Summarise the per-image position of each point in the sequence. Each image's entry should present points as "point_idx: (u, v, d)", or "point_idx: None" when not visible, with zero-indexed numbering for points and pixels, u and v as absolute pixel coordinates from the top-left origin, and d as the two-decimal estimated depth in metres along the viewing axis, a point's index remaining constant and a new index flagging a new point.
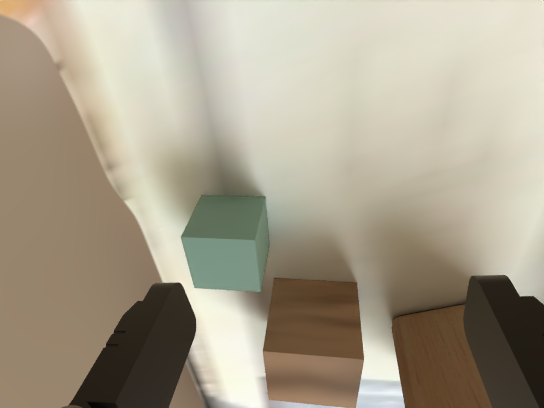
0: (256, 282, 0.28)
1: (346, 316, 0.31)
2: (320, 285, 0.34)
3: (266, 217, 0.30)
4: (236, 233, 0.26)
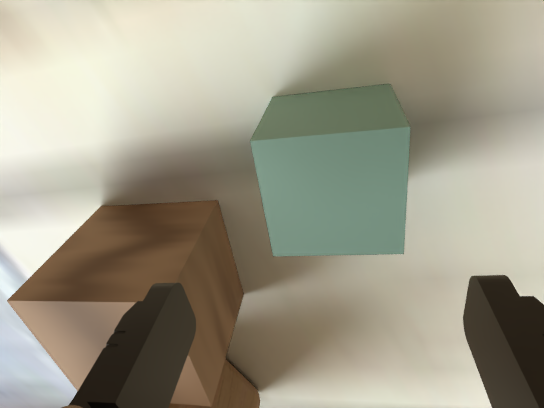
0: (296, 251, 0.15)
1: (225, 330, 0.22)
2: (231, 264, 0.23)
3: None
4: None
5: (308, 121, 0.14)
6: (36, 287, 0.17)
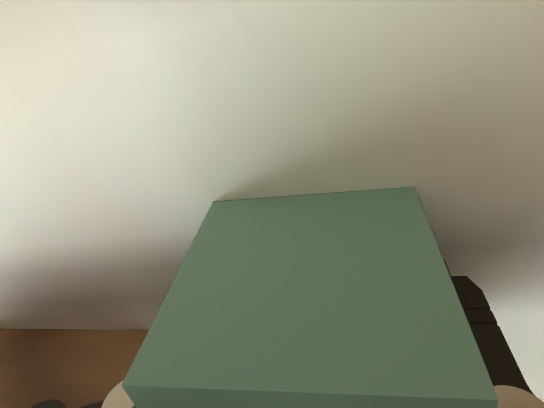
0: None
1: None
2: None
3: None
4: None
5: (258, 310, 0.07)
6: None
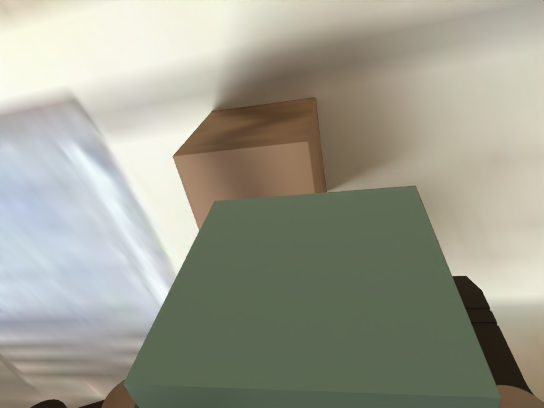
0: None
1: None
2: (321, 158, 0.27)
3: None
4: None
5: (260, 309, 0.07)
6: (192, 148, 0.21)
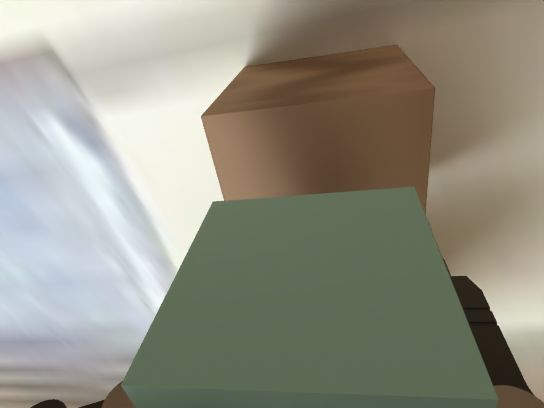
0: None
1: None
2: None
3: None
4: None
5: (257, 310, 0.07)
6: (230, 106, 0.14)
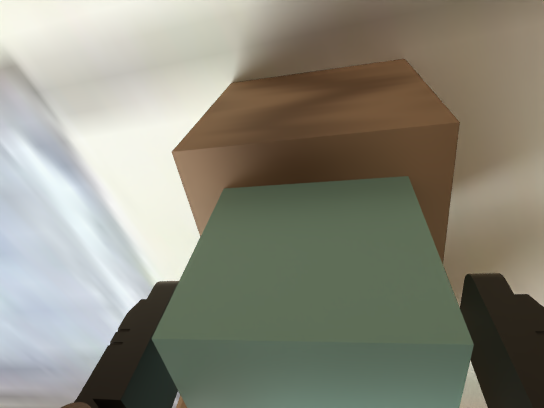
0: None
1: None
2: None
3: None
4: None
5: (269, 279, 0.07)
6: (208, 137, 0.11)
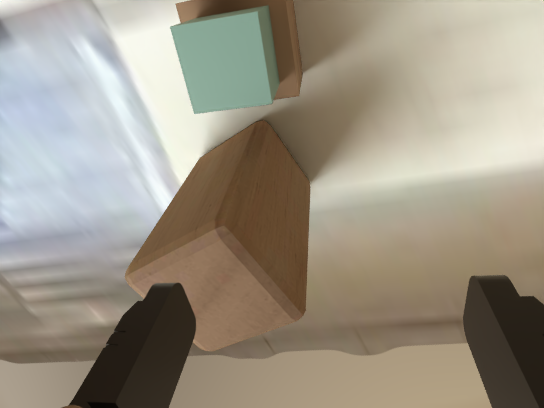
0: (208, 108, 0.24)
1: (299, 70, 0.31)
2: (297, 36, 0.33)
3: None
4: (269, 79, 0.24)
5: (207, 18, 0.23)
6: None
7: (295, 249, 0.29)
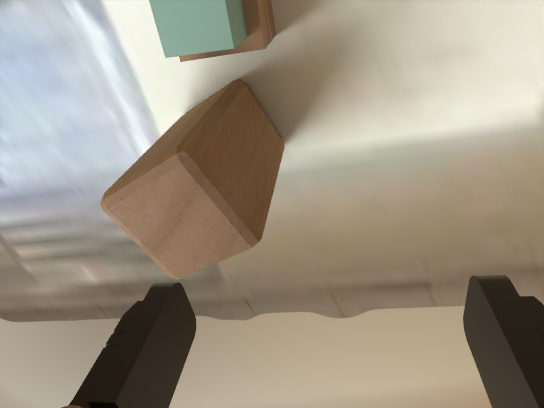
0: (177, 52, 0.27)
1: (268, 28, 0.34)
2: None
3: None
4: (232, 25, 0.26)
5: None
6: None
7: (258, 188, 0.31)
